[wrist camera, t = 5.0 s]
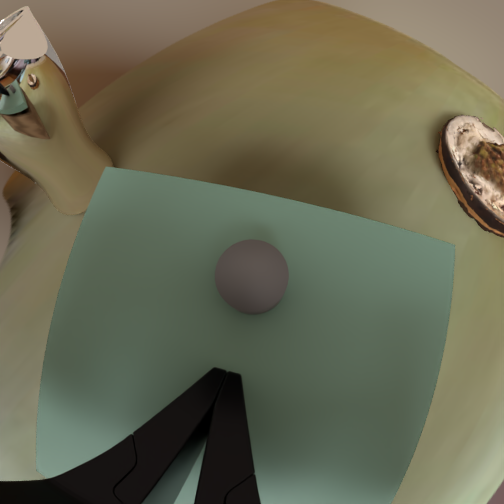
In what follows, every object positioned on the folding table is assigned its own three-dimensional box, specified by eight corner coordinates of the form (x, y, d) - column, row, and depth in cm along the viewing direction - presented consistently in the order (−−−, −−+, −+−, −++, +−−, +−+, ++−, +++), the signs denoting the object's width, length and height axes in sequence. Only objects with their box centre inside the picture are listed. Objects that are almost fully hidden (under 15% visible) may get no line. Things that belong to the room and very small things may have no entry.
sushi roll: (490, 287, 17) (524, 271, 13) (390, 136, 22) (406, 102, 18) (545, 219, 19) (568, 202, 15) (470, 111, 24) (485, 88, 20)
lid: (346, 555, 7) (357, 582, 4) (48, 464, 8) (20, 477, 6) (442, 252, 10) (472, 234, 8) (115, 177, 12) (92, 151, 10)
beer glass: (78, 144, 22) (0, 19, 8) (134, 155, 21) (55, -9, 7) (37, 209, 20) (-74, 98, 6) (89, 232, 19) (-52, 86, 5)
